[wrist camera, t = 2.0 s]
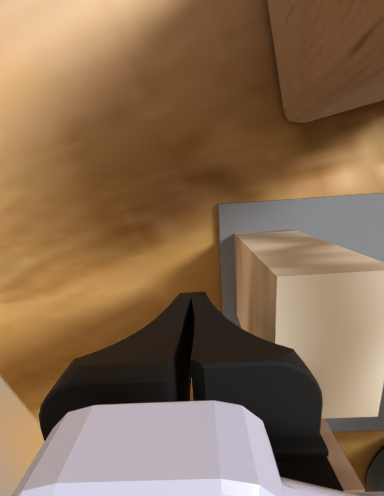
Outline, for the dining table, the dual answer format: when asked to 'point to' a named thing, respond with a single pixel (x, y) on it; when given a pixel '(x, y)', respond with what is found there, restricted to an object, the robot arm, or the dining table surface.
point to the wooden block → (328, 55)
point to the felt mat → (314, 224)
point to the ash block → (317, 312)
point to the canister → (376, 474)
